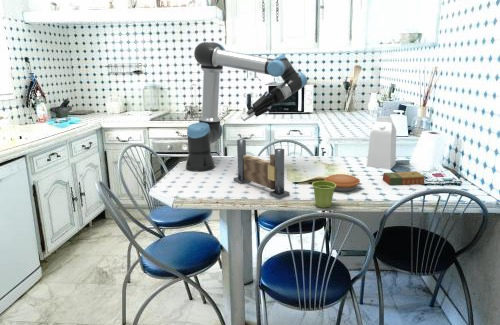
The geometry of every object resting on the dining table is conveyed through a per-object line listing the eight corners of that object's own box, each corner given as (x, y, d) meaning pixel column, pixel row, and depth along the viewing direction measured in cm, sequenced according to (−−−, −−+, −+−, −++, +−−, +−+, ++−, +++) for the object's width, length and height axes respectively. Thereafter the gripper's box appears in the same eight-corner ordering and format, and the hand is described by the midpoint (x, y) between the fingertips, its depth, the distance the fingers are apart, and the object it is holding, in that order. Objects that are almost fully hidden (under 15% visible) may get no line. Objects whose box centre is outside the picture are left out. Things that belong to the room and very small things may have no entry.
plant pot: (336, 202, 165) (337, 181, 162) (333, 210, 156) (334, 189, 154) (313, 200, 168) (314, 179, 165) (309, 208, 159) (309, 187, 157)
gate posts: (233, 181, 195) (232, 140, 189) (243, 178, 198) (242, 138, 193) (278, 198, 170) (278, 152, 165) (289, 195, 173) (289, 149, 168)
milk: (395, 164, 218) (399, 115, 211) (389, 169, 209) (393, 118, 202) (373, 161, 224) (375, 114, 218) (366, 166, 215) (369, 117, 208)
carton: (424, 185, 185) (425, 175, 184) (389, 186, 184) (390, 177, 183) (415, 179, 193) (416, 170, 192) (382, 180, 192) (383, 172, 191)
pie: (353, 195, 172) (353, 184, 171) (318, 190, 180) (319, 179, 179) (364, 185, 185) (364, 175, 183) (331, 180, 193) (331, 170, 191)
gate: (243, 179, 191) (242, 147, 187) (247, 177, 192) (247, 146, 189) (273, 190, 174) (273, 156, 171) (278, 188, 176) (278, 155, 172)
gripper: (284, 88, 195) (245, 114, 189) (285, 106, 206) (248, 131, 200) (274, 80, 199) (236, 105, 193) (275, 97, 210) (239, 122, 204)
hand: (242, 118), depth 197 cm, fingers closed
